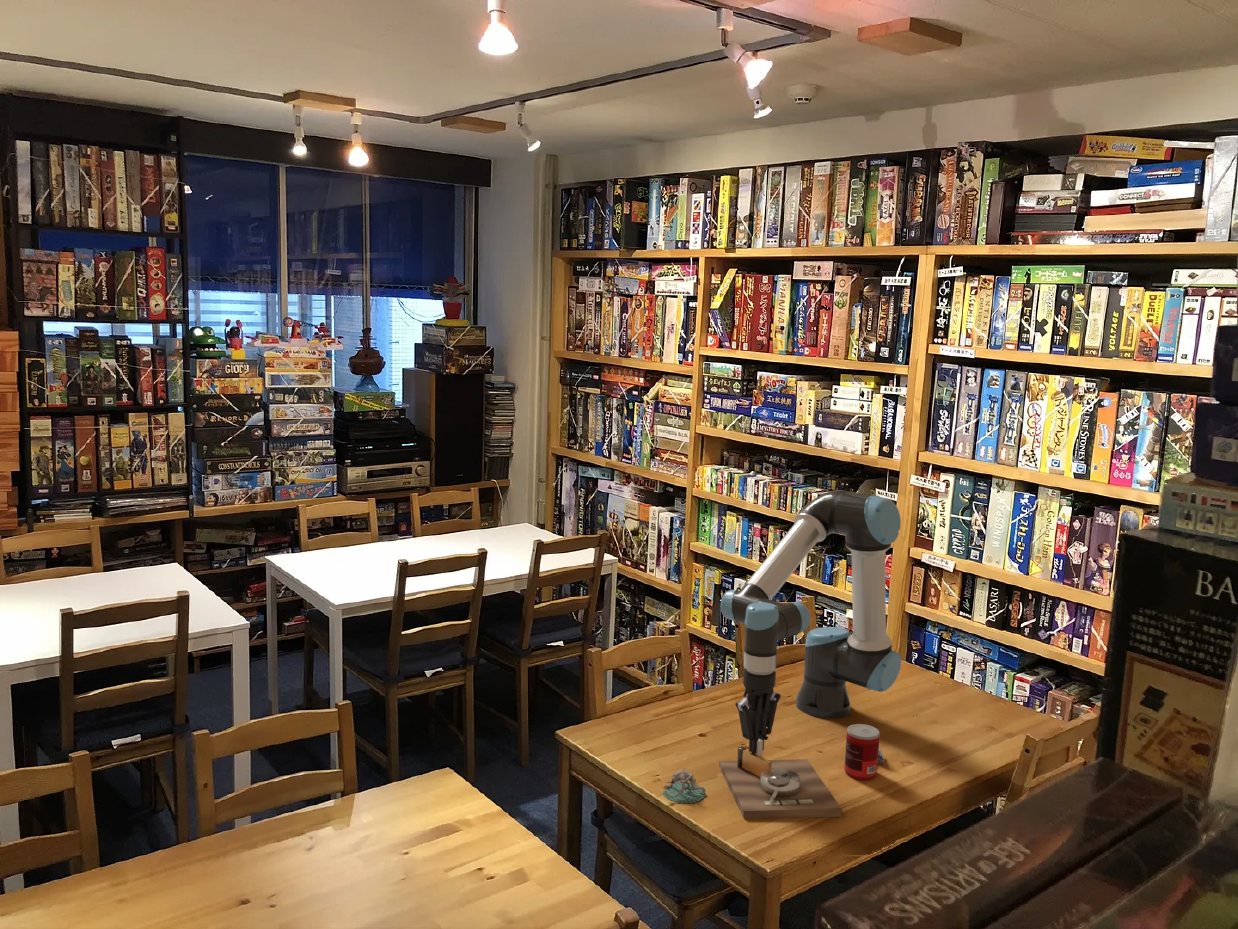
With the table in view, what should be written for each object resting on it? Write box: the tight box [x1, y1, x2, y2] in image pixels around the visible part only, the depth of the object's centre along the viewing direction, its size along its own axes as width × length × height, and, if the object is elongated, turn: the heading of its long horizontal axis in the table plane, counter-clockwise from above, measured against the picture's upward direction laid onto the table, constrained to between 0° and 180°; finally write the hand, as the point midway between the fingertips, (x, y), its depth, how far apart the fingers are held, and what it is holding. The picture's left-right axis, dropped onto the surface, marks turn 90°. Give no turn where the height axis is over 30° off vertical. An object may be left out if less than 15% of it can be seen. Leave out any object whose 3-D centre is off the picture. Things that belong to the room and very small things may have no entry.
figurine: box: [661, 768, 706, 805], centre depth 217 cm, size 11×12×6 cm
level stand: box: [718, 758, 842, 820], centre depth 220 cm, size 24×22×2 cm
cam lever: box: [736, 745, 801, 803], centre depth 220 cm, size 18×12×5 cm
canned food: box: [844, 723, 881, 781], centre depth 230 cm, size 8×8×11 cm
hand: (755, 764), depth 226 cm, fingers closed
